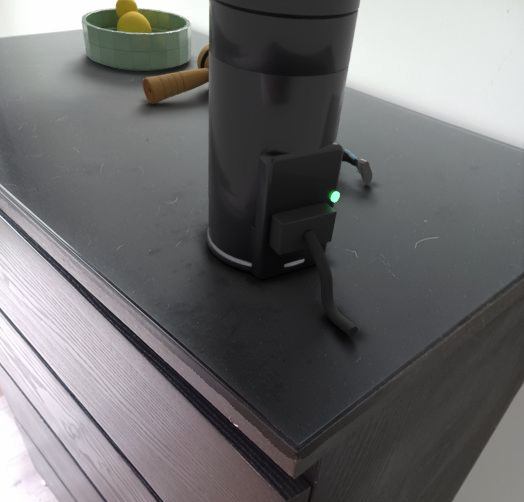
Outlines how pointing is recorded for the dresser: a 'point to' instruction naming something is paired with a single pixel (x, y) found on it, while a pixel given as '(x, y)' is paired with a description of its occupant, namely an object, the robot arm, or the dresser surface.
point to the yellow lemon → (131, 18)
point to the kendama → (177, 80)
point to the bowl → (137, 41)
